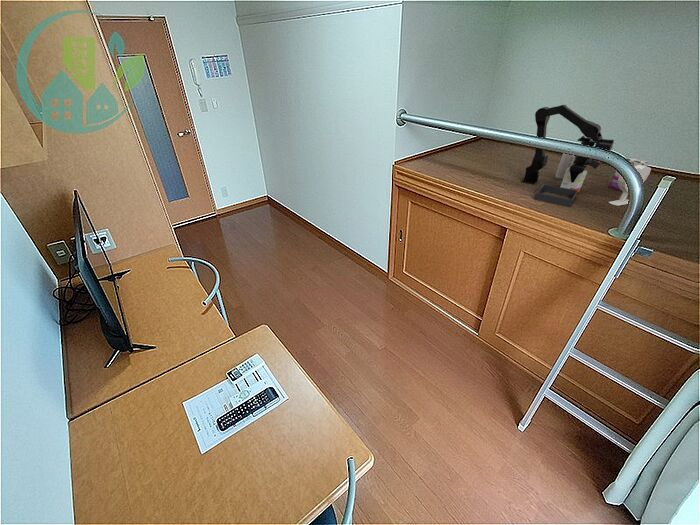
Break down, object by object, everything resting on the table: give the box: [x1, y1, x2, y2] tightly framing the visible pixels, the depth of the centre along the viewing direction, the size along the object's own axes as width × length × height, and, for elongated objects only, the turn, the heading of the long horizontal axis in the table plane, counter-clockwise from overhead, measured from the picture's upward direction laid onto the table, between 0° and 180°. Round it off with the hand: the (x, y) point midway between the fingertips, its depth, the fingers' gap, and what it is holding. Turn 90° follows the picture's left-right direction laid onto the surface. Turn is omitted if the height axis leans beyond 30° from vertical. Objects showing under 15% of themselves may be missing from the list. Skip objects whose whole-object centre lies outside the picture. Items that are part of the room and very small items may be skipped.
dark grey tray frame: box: [534, 183, 579, 208], centre depth 166 cm, size 16×16×4 cm
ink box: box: [559, 167, 589, 194], centre depth 172 cm, size 9×5×12 cm, turn 30°
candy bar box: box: [608, 156, 650, 192], centre depth 171 cm, size 11×5×16 cm, turn 21°
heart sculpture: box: [608, 165, 652, 207], centre depth 157 cm, size 16×5×18 cm, turn 110°
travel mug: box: [554, 152, 576, 181], centre depth 186 cm, size 6×7×20 cm
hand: (573, 180), depth 172 cm, fingers closed on ink box, 6 cm apart
